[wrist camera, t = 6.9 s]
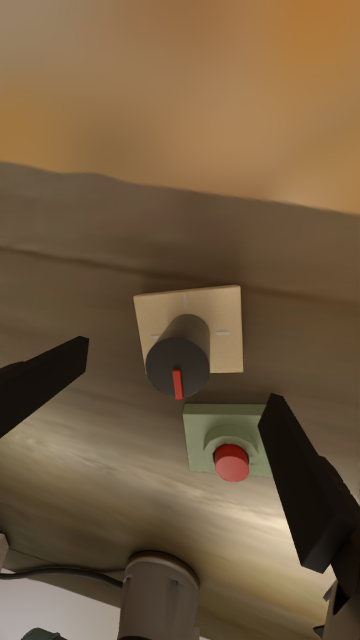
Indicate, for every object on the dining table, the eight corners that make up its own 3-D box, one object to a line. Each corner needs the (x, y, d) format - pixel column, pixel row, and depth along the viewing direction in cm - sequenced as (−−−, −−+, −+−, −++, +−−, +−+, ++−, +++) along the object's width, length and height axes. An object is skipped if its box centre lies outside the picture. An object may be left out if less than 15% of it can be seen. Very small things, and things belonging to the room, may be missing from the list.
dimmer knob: (165, 315, 22) (138, 340, 14) (208, 312, 21) (207, 337, 13) (169, 355, 23) (148, 399, 15) (211, 354, 22) (212, 400, 14)
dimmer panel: (152, 363, 27) (145, 375, 24) (141, 293, 25) (132, 296, 22) (239, 360, 25) (243, 373, 22) (236, 284, 23) (240, 286, 20)
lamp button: (215, 467, 25) (216, 480, 24) (213, 442, 24) (214, 455, 23) (247, 469, 25) (249, 483, 23) (246, 444, 24) (248, 457, 22)
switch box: (191, 457, 30) (188, 484, 26) (184, 403, 28) (180, 424, 24) (271, 462, 28) (280, 492, 24) (271, 404, 26) (281, 427, 22)
